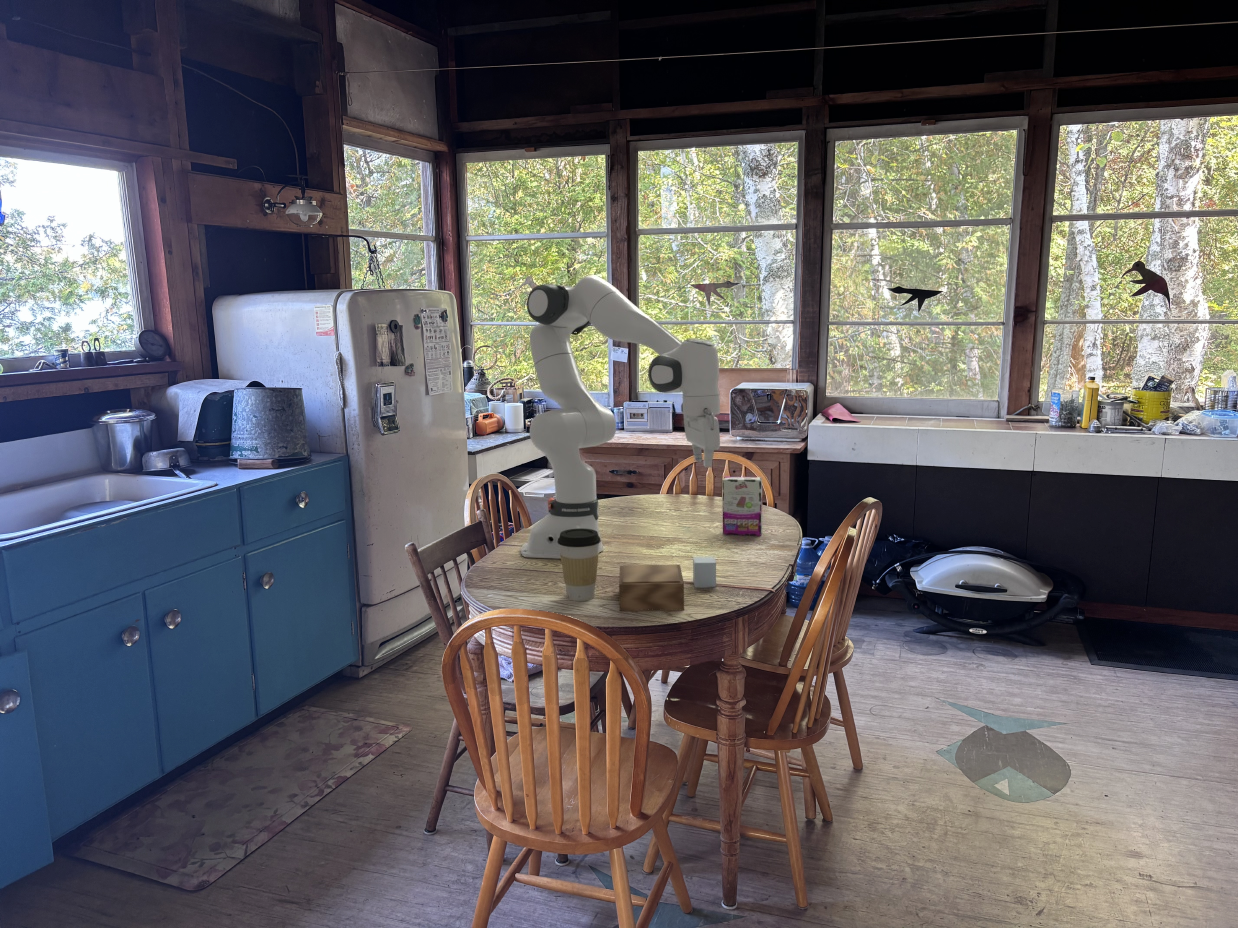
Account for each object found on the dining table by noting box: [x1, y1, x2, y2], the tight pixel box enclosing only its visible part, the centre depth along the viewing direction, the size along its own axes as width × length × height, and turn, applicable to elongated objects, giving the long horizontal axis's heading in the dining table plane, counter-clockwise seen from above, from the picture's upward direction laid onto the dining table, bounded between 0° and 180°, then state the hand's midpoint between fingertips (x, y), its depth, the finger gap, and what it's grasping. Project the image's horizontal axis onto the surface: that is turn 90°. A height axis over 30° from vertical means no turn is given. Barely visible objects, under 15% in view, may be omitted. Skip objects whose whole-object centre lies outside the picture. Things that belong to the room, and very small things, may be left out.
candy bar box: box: [721, 476, 763, 537], centre depth 248 cm, size 11×5×16 cm, turn 76°
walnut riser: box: [618, 563, 685, 612], centre depth 193 cm, size 14×14×6 cm
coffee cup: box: [557, 528, 602, 602], centre depth 195 cm, size 10×10×15 cm
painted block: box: [692, 556, 717, 588], centre depth 204 cm, size 5×5×6 cm
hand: (703, 464), depth 207 cm, fingers open, 8 cm apart
